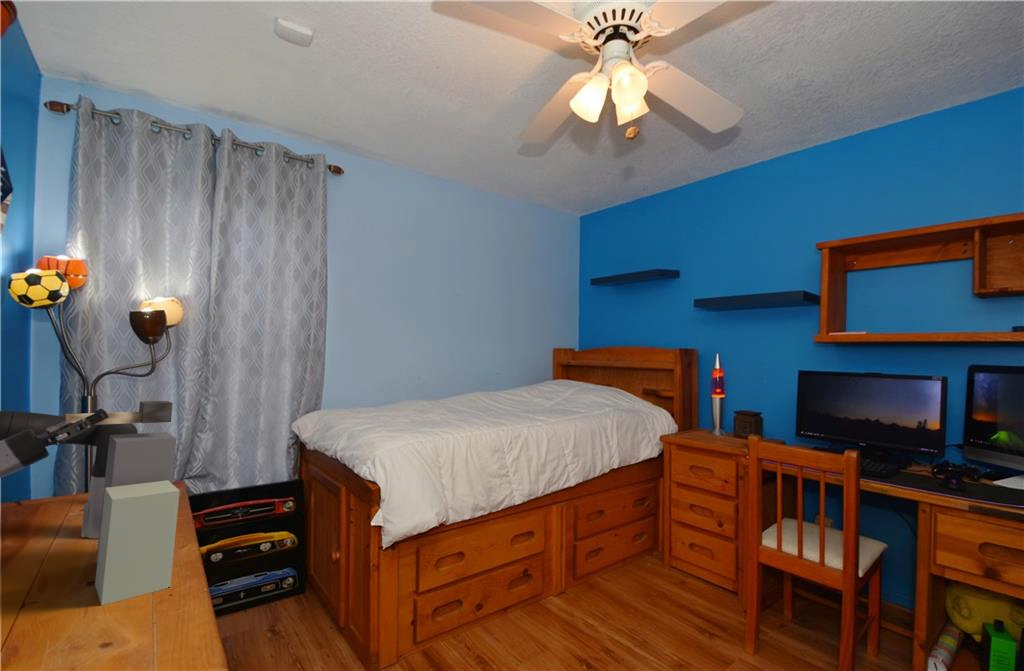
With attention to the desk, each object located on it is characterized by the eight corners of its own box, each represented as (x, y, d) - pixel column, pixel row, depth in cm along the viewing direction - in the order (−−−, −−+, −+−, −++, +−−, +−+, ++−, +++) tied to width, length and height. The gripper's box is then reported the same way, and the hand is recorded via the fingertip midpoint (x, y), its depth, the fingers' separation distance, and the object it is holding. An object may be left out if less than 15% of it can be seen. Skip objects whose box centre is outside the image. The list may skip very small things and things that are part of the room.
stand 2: (101, 605, 98) (112, 499, 99) (94, 585, 106) (105, 487, 107) (170, 587, 106) (179, 490, 108) (159, 570, 114) (168, 480, 116)
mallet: (65, 426, 107) (68, 405, 107) (64, 423, 111) (66, 402, 111) (170, 422, 121) (172, 402, 122) (165, 419, 125) (167, 401, 126)
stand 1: (102, 578, 109) (116, 442, 111) (96, 562, 117) (109, 435, 119) (164, 564, 118) (176, 438, 120) (154, 550, 126) (166, 431, 128)
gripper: (1, 445, 97) (100, 402, 108) (3, 435, 106) (93, 397, 118) (23, 473, 99) (118, 428, 111) (23, 462, 109) (110, 421, 120)
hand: (105, 412), depth 114 cm, fingers closed on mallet, 3 cm apart
